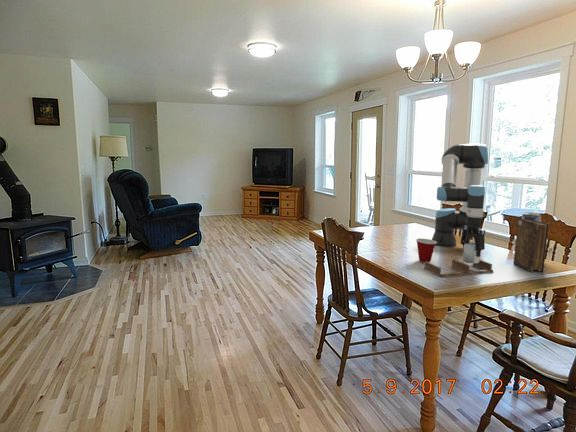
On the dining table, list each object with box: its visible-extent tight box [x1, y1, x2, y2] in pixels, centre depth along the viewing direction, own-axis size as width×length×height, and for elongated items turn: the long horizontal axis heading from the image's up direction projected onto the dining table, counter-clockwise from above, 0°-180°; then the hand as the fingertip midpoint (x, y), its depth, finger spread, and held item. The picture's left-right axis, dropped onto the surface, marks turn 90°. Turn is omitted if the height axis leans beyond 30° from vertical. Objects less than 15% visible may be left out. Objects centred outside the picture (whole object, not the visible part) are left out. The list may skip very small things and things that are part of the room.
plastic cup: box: [415, 238, 437, 264], centre depth 204 cm, size 11×11×12 cm
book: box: [513, 218, 550, 273], centre depth 191 cm, size 17×7×25 cm, turn 177°
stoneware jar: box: [462, 241, 479, 265], centre depth 190 cm, size 7×7×10 cm
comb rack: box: [424, 258, 494, 278], centre depth 189 cm, size 30×13×4 cm, turn 103°
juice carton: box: [520, 210, 542, 222], centre depth 208 cm, size 9×10×27 cm
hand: (470, 260), depth 191 cm, fingers closed on stoneware jar, 7 cm apart
